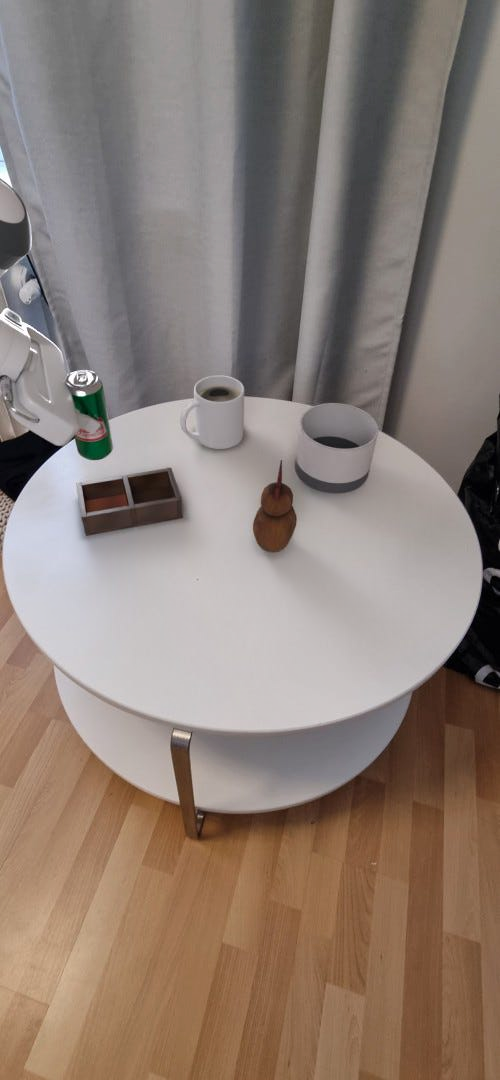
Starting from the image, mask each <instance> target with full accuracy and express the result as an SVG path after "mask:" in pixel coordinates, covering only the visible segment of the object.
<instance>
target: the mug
mask: <svg viewBox="0 0 500 1080" xmlns="http://www.w3.org/2000/svg"><path fill="white" fill-rule="evenodd" d="M193 409H194V419H195V420H194V422H195V423H194V424H195V425H194V426H195V431H189V430H188V429H187V419H188V416H189V414H190V413H191V411H193ZM244 417H245V387H244V384H243V383H242V382H241V381H240V380H238V379H237V378H235V377H232V376H228V375H224V374H223V375H221V374H218V375H217V374H216V375H209V376H205V377H203V378H201V379H200V380H198V381H197V382H196V383H195V384H194V388H193V399H192V400H190V401H189V402H187V404H186V405H185V406H184V407H183V409H182V410H181V413H180V418H179V423H180V424H179V426H180V428H181V431H182V432H183V433H184V434H185V435H186V436H187V437H188V438H190V439H194V440H195V439H196V440H197V441H198V442H199V443H200V444H201V445H202V446H205V447H207V448H209V449H212V450H213V449H214V450H226V449H230V448H233V447H235V446H238V445H239V444H240V442H242V440H243V437H244V421H245V420H244V419H245V418H244Z"/></svg>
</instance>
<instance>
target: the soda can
mask: <svg viewBox="0 0 500 1080" xmlns="http://www.w3.org/2000/svg"><path fill="white" fill-rule="evenodd" d="M68 374H69V375H68V376H67V377H66V378H65V383H66V385H67V386H68V388H69V390H70V392H71V393H72V397H73V401H74V405H75V408H76V409H78V410H79V411H80V413H81V414H85V415H87V414H88V413H89V414H91V415H93V416H94V417H97V418H98V421H99V424H100V427H99V428H98V429H97V431H96V432H95V433H90V432H88V431H86V430H84V429H79V430H78V432H77V433H76V434H75V436H74V437H73V438H74V441H75V446H76V450H77V453H78V454H79V456H81V457H82V458H84V459H86V460H88V461H100V460H103V459H105V458H107V457H108V456H109V455H110V454H111V453H112V452H113V450H114V444H113V437H112V431H111V426H110V419H109V415H108V414H109V413H108V409H107V408H108V407H107V401H106V397H105V396H106V395H105V389H104V384H103V382H102V380H101V379H100V378H99V375H98V374H97V373H96V372H94V371H92V370H87V369H83V370H76V371H73V372H71V373H68Z"/></svg>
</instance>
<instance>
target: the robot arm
mask: <svg viewBox="0 0 500 1080" xmlns="http://www.w3.org/2000/svg"><path fill="white" fill-rule="evenodd" d="M26 207H27V206H26V205H25V203H24V201H23V200H22V198H21V196H20V195H19V194H18V192H17V191H16V190H15V189H14V188H13V187H12V186H11V185H9V183H8V182H6V181H5V180H3V179H2V178H0V279H1V278H2V277H3V276H4V275H5V274H6V273H7V271H9V270H10V269H12V268H13V267H14V266H15V265H17V264H18V263H19V262H20V261H21V260H22V259H23V258H25V257H26V256H27V255H28V254H29V253H30V252H31V249H32V242H33V235H32V234H33V233H32V225H31V220H30V217H29V213H28V210H27V208H26ZM69 374H70V373H67V369H66V364H65V359H64V356H63V353H62V350H61V349H60V348H59V347H58V346H57V345H56V344H55V343H54V342H53V341H51V340H50V339H49V338H47V337H46V336H45V335H44V334H42V333H41V332H39V331H37V329H35V328H34V327H32V326H31V325H29V324H28V323H26V322H23V321H22V318H21V316H20V315H19V314H18V313H16V312H15V311H13V310H12V309H10V308H7V307H6V308H4V309H3V310H2V312H1V313H0V397H1V401H2V403H3V404H5V405H6V406H7V407H8V410H9V414H10V415H11V417H12V418H13V420H15V421H16V422H17V423H19V424H20V425H22V426H23V427H24V428H26V429H27V430H29V431H31V432H32V433H34V434H35V435H38V436H39V437H40V438H42V439H44V440H46V441H47V442H49V443H51V444H53V445H54V446H58V447H65V446H67V445H68V444H69V443H70V442H71V441H72V439H73V438H75V437H74V436H75V434H76V433H77V432H78V430H79V429H84V430H86V431H88V432H90V433H95V432H96V431H97V429H98V428H99V427H100V424H99V421H98V418H97V417H94V416H93V415H91V414H89V413H88V414H87V415H85V414H81V413H80V411H79V410H78V409H76V408H75V405H74V401H73V397H72V393H71V392H70V390H69V388H68V386H67V385H66V383H65V378H66V377H67V376H68V375H69Z"/></svg>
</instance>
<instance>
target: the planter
mask: <svg viewBox="0 0 500 1080" xmlns="http://www.w3.org/2000/svg"><path fill="white" fill-rule="evenodd" d="M379 431H380V430H379V424H378V423H377V421H376V420H375V418H374V416H372V415H371V414H370V413H368V412H366V410H363V409H362V408H359V407H357V406H353V405H351V404H348V403H341V402H339V403H338V402H326V403H320V404H316V405H314V406H312V407H310V408H308V409H307V410H305V411H304V412H303V413H302V415H301V417H300V419H299V424H298V434H297V443H296V450H295V460H294V470H295V474H296V475H297V477H298V478H299V479H300V481H301V482H302V483H304V485H307V486H308V487H310V488H312V489H314V490H316V491H319V492H323V493H328V494H345V493H350V492H353V491H355V490H357V489H359V488H361V487H362V486H363V485H364V484H365V483H366V481H368V477H369V475H370V470H371V465H372V462H373V461H372V460H373V457H374V453H375V448H376V444H377V441H378V436H379Z"/></svg>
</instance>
